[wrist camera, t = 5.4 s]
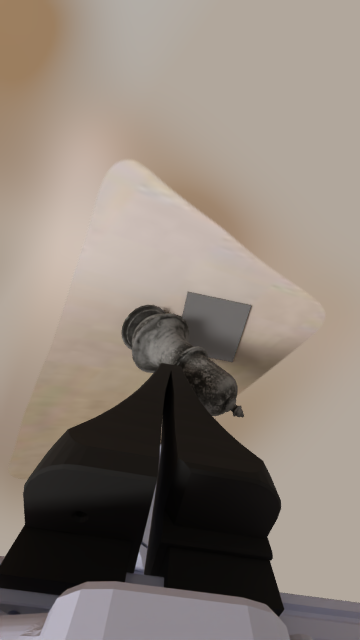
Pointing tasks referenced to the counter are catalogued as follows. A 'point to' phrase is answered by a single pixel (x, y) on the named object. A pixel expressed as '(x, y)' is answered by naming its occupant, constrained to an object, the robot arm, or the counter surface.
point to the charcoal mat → (215, 324)
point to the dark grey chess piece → (178, 356)
